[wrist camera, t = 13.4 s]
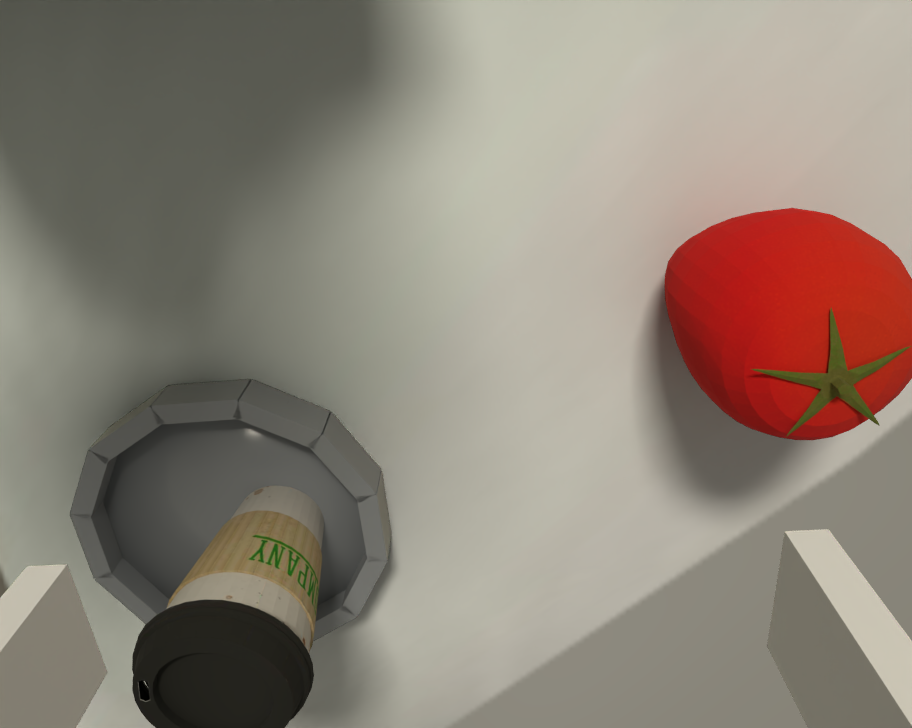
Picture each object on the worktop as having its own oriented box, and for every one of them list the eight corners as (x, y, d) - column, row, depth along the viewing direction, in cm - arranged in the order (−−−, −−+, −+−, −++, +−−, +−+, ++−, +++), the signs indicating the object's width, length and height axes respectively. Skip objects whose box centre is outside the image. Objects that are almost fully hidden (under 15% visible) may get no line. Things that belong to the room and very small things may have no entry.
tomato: (607, 319, 45) (664, 428, 33) (702, 152, 41) (810, 201, 28) (773, 390, 47) (888, 520, 34) (880, 238, 43) (1057, 321, 30)
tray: (56, 393, 48) (31, 414, 45) (366, 370, 47) (360, 390, 44) (140, 629, 57) (124, 659, 54) (403, 614, 56) (400, 643, 53)
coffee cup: (346, 580, 53) (304, 767, 39) (215, 568, 53) (127, 751, 39) (352, 470, 49) (308, 636, 35) (210, 456, 49) (110, 618, 35)
